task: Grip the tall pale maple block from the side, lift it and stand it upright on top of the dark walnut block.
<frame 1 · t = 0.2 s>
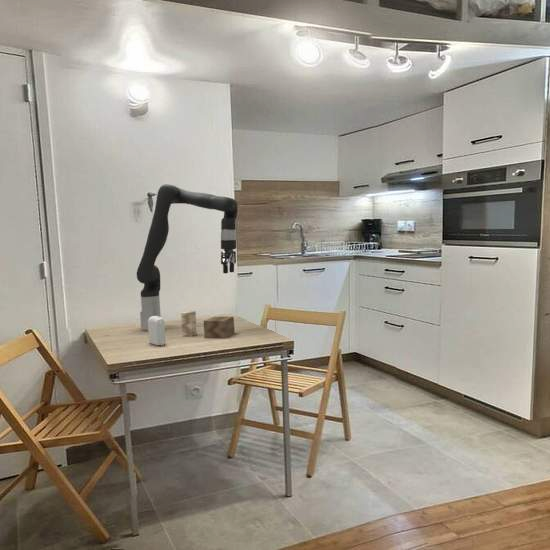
hand: (228, 272, 227), 28 cm above the table, tool pointing down, fingers open, 8 cm apart
walnut block: (219, 335, 218), on the table
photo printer: (157, 344, 205), on the table
maple block: (189, 335, 221), on the table
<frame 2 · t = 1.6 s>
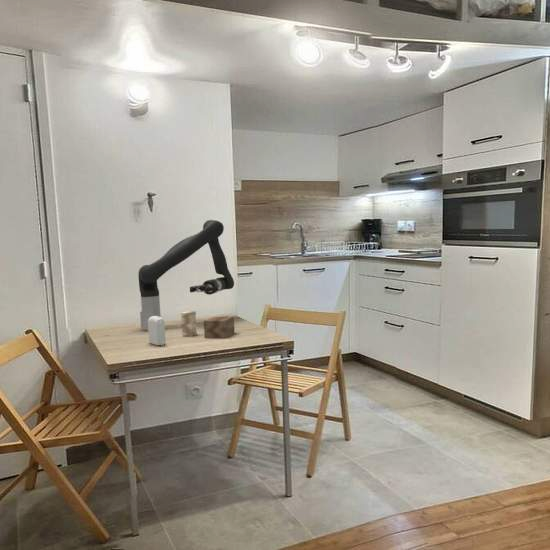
hand: (198, 290, 231), 20 cm above the table, tool horizontal, fingers open, 8 cm apart
nothing on the table moved.
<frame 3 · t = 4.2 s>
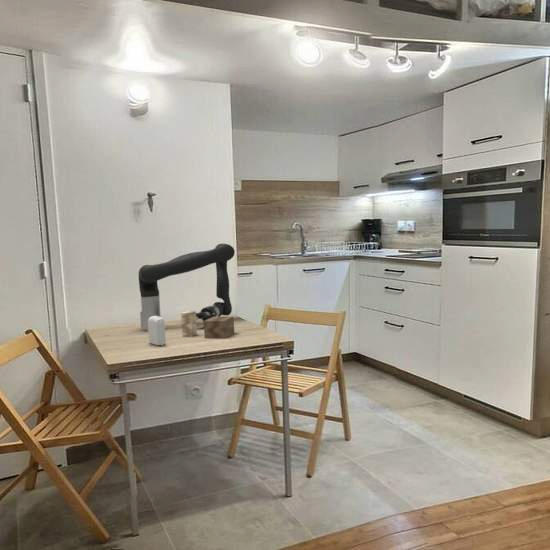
hand: (196, 318, 228), 7 cm above the table, tool horizontal, fingers open, 8 cm apart
nothing on the table moved.
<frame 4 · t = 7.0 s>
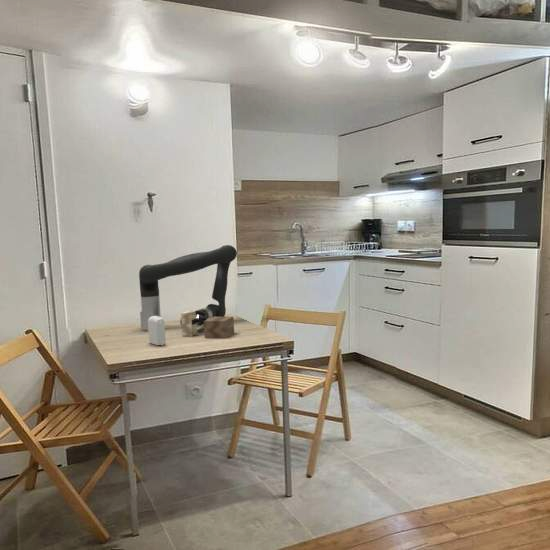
hand: (186, 322, 218), 7 cm above the table, tool horizontal, fingers closed on maple block, 5 cm apart
maple block: (189, 335, 221), on the table, touching gripper
everything else where it was.
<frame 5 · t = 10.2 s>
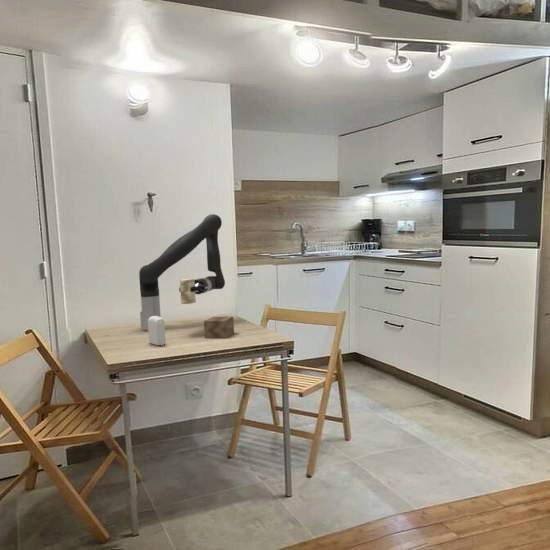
hand: (185, 289, 217), 22 cm above the table, tool horizontal, fingers closed on maple block, 5 cm apart
maple block: (188, 303, 220), point 15 cm above the table, touching gripper
everything else where it was.
when the fingers open (16 cm above the table, at t = 13.4 s): maple block drops 2 cm, resting on walnut block.
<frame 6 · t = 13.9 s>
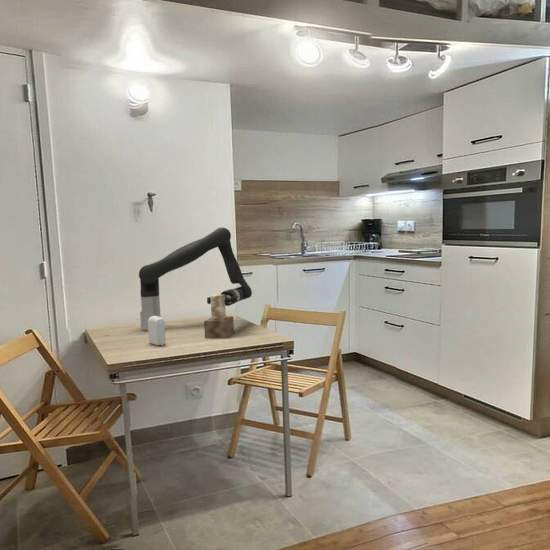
hand: (216, 301, 215), 16 cm above the table, tool horizontal, fingers open, 8 cm apart
walnut block: (219, 335, 218), on the table, touching maple block
maple block: (218, 318, 217), point 8 cm above the table, touching walnut block
everything else where it was.
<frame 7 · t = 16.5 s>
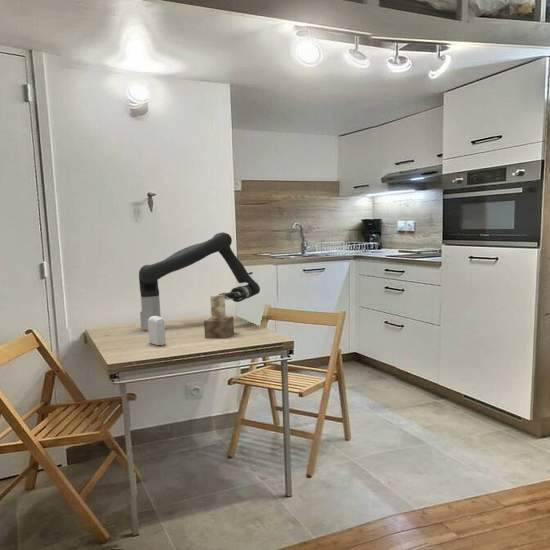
hand: (227, 297, 228), 16 cm above the table, tool horizontal, fingers open, 8 cm apart
nothing on the table moved.
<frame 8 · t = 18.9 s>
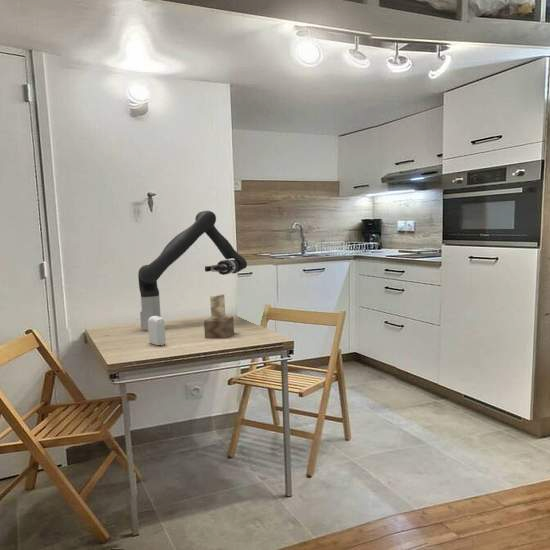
hand: (213, 269, 232), 30 cm above the table, tool horizontal, fingers open, 8 cm apart
nothing on the table moved.
at the end: maple block inside the target area on the walnut block (0.1 cm from its centre), point 8.0 cm above the walnut block's base; maple block tilted 1°; the gripper is holding nothing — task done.
